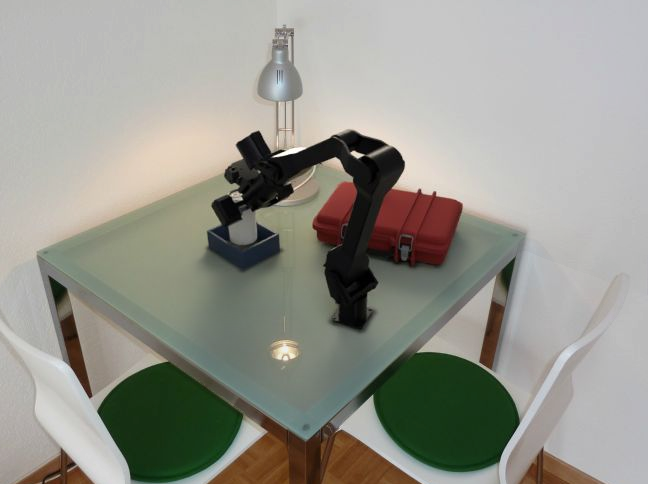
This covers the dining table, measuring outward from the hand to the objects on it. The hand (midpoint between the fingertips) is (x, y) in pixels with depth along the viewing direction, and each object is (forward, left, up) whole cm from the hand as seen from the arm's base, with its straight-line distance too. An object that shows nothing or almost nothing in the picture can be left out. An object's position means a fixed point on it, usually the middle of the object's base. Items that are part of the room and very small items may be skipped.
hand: (237, 212), depth 146 cm
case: (0, -1, -10) cm, 10 cm away
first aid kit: (+20, -30, -10) cm, 37 cm away
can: (-1, -1, -7) cm, 7 cm away
